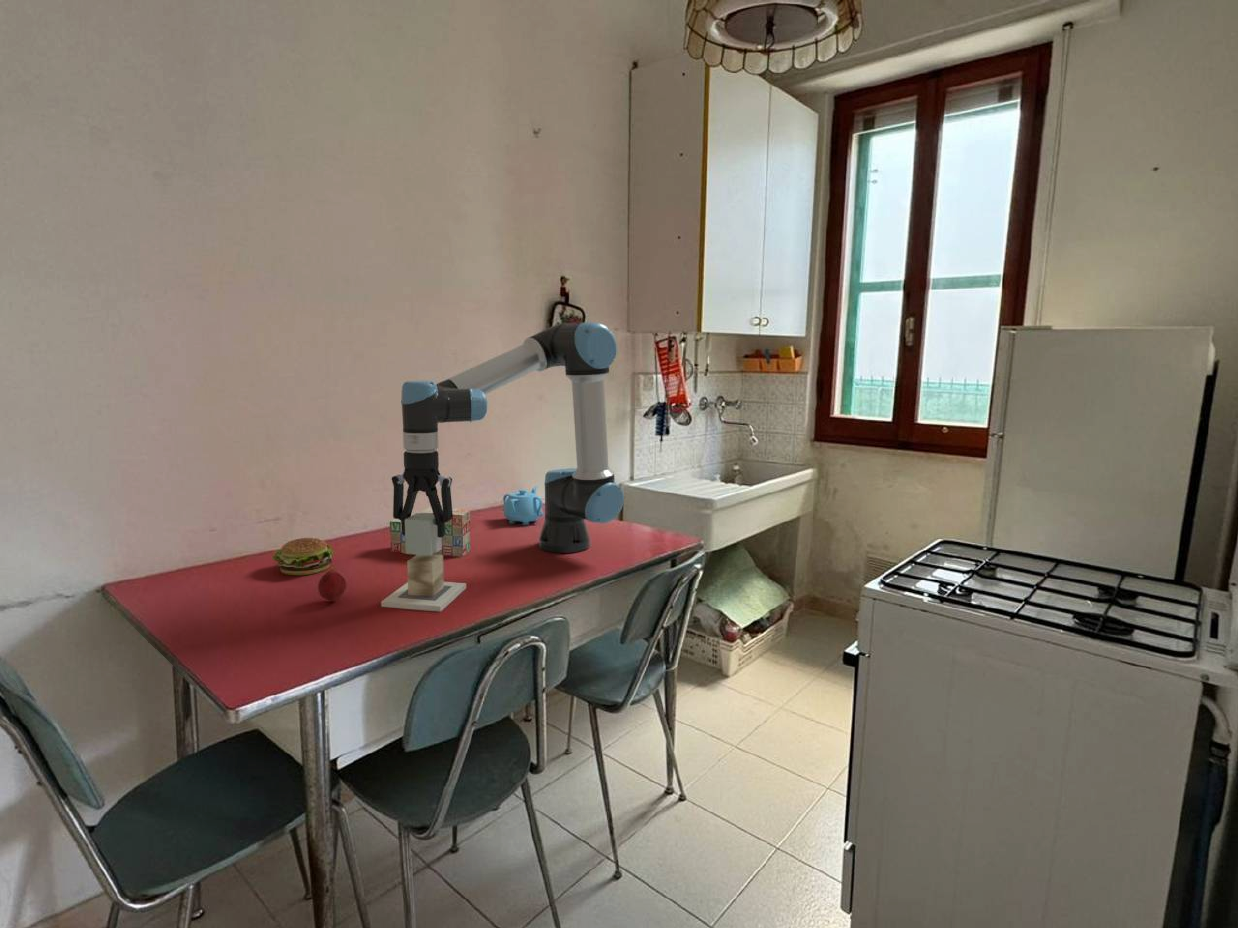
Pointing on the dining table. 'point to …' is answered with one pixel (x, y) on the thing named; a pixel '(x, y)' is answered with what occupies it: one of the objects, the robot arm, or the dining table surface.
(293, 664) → the dining table surface
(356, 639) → the dining table surface
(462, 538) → the stack of blocks
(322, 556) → the food
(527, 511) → the teapot
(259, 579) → the dining table surface
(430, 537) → the sage block
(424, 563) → the beech block
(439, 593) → the white square base plate
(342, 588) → the onion
